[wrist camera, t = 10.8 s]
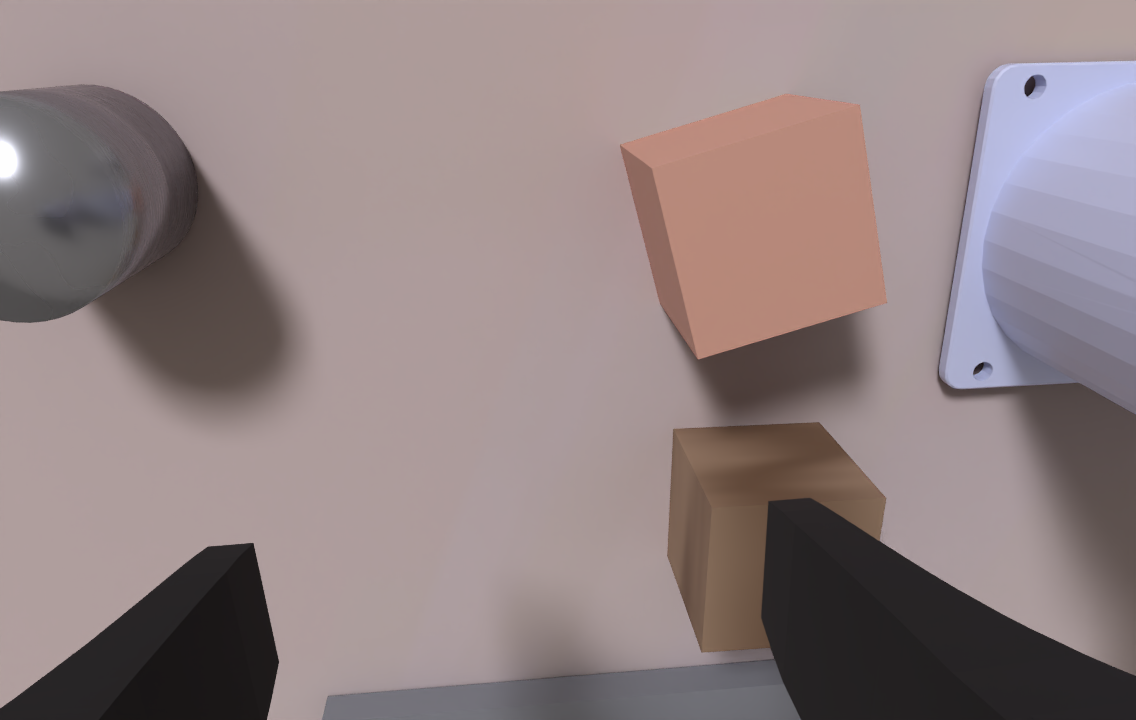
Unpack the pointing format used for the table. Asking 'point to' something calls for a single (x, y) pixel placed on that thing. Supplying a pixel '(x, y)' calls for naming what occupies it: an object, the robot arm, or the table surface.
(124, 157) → the dark metal cylinder
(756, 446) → the walnut block
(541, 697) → the charcoal mat
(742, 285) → the terracotta block
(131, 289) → the table surface
